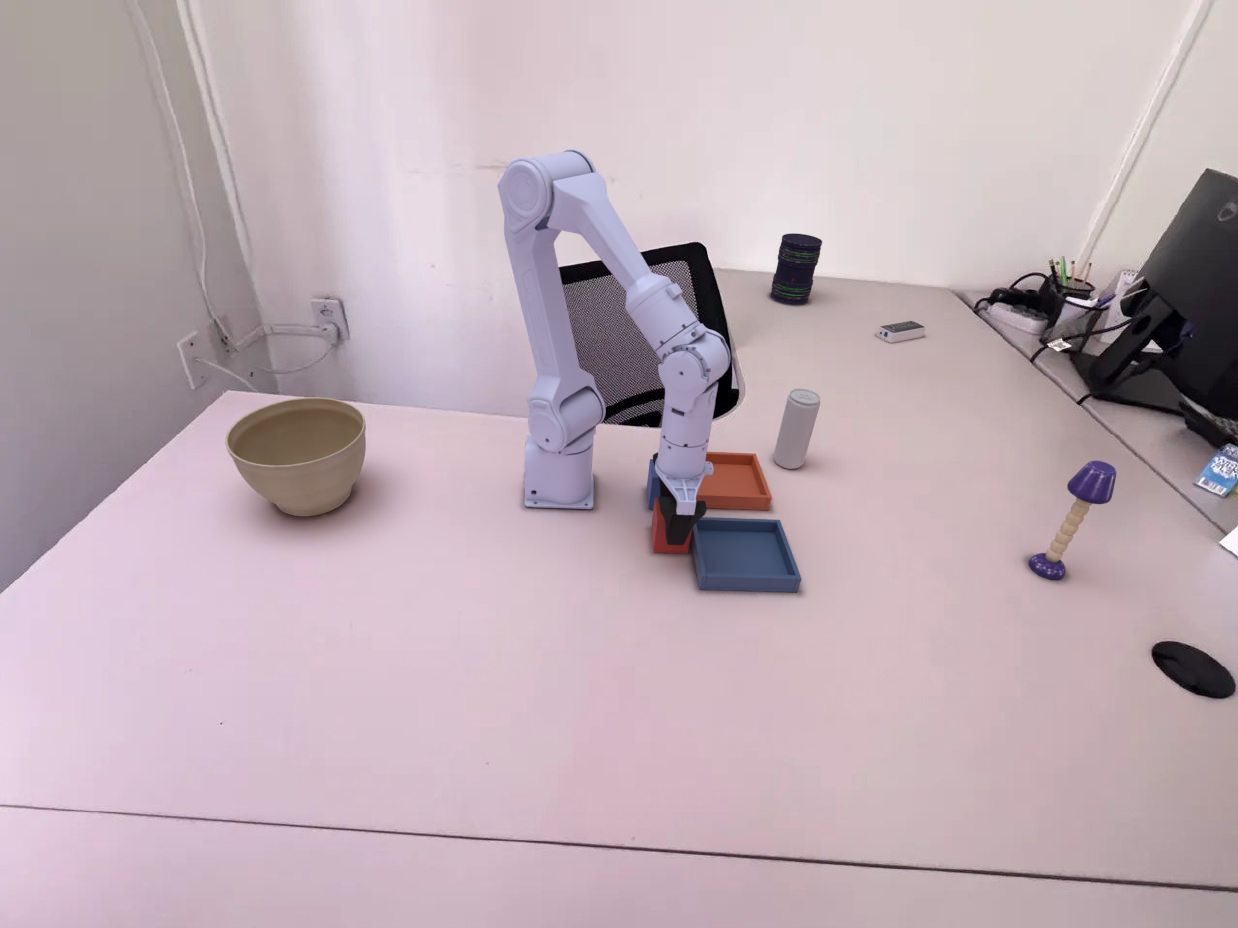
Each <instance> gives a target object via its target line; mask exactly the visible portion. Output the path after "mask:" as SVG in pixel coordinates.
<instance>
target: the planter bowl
mask: <svg viewBox="0 0 1238 928" xmlns="http://www.w3.org/2000/svg"><path fill="white" fill-rule="evenodd" d="M225 447H226V450H227V453H228V455H229V456H230V457H231V458H232V460H233V463H234V465H235V467H236V469H237V471H238V473H239V474H240V475H241V477H242V478H243V479H244V481H245V482H246V484H248V486H250V487H251V488H252V490H254V491H255V492H256V493H257V494H259V495H260V496H261V497H262V498H264V499H266V500H268V502H271V503H273V504H275V505H276V508H278V509H279V510H280V511H281V512H283V513H285V514H287V515H291V516H295V517H312V516H313V517H314V516H319V515H322V514H325V513H329V512H331V511H334V510H335V509H337V508H339V507H340V506H342V505H343V504H344V503H345V502H346V501H347V500H348V499H349V498H350V496H351V493H352V488H353V486H354V484H355V483H356V481H357V480H358V477H359V475H360V473H361V471H362V468H363V465H364V461H365V456H366V450H367V449H366V447H367V439H366V419H365V416H364V414H363V412H362V411H361V410H360V409H359V408H358V407H356V406H354V405H352V404H351V403H349V402H347V401H343V400H339V399H335V398H331V397H320V396H311V397H310V396H309V397H307V396H306V397H296V398H290V399H284V400H280V401H275V402H273V403H270V404H266V405H264V406H261V407H259V408H257V409H255V410H252V411H250V412H248V413H246V414H245V415H243V416H242V417H240V418H239V419H237V421H235V422H234V423H233V424H232V425H231V426H230V428H229V429H228V431H227V433H226V435H225Z"/></svg>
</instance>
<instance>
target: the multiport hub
mask: <svg viewBox="0 0 1238 928" xmlns="http://www.w3.org/2000/svg"><path fill="white" fill-rule="evenodd" d="M926 328H927V327H926V326H924V325H923V324H920V323H918V322H916V321H913V320H906V321H901V322H897V323H891V324H886V325H879V326H878V329H877V334H876V337H877V338H879V339H881V340H883V341H885V342H887V343H889V344H893V343H898V342H903V341H909V340H913V339H918V338H923V337H924V334H925V331H926Z"/></svg>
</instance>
